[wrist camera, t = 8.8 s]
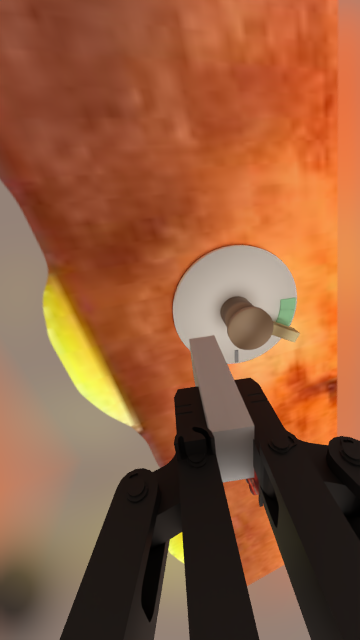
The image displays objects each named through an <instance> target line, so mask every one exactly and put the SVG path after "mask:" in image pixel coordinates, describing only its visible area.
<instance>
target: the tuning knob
mask: <svg viewBox="0 0 360 640" xmlns="http://www.w3.org/2000/svg"><path fill="white" fill-rule="evenodd" d="M220 314H221V318H222V320H223V322H224V323H225V325H226V326H227V334H228V337H229V338H230V340H231V342H232V343H233V344H234V345H235V346H236V347H238V348H240V349H243V350H253V349H257V348H259V347H261V346H262V345H264V344H265V343H266V342H267V341H268V340H269V339H270V337H271V335H274V336H277V337H280V338H283V339H286V340H289V341H292V342H295V341H296V339H297V338H298V336H299V334H300V333H299V332H297V331H296V330H295V329H294V328H292V327H289V326H286V325H283V324H280V323H277V322H274V321H273V320H272V318H271V317H270V315H269V314H268V313H267V312H265V311H264V310H263V309H261V308H259V307H254V306H253V305H252V304H251V303H250V302H249V301H248V300H247V299H246V298H244V297H240V296H235V297H232V298H229V299H228V300H227V301H225V302H224V304H223V305H222V307H221V311H220Z"/></svg>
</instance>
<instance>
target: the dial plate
mask: <svg viewBox="0 0 360 640" xmlns="http://www.w3.org/2000/svg"><path fill="white" fill-rule="evenodd" d="M235 296H240V297H244V298H246V299H247V300H248V301H249V302H250V303H251V304H252V305H253V306H254V307H259V308H261V309H263V310H264V311H265V312H267V313H268V314H269V315H270V317H271V318H272V320H273V321H274V322H277V323H280V324H283V325H286V326H290V324H291V322H292V320H293V317H294V314H295V310H296V304H297V292H296V286H295V282H294V279H293V277H292V274H291V273H290V271H289V269H288V268H287V266H286V265H285V264H284V263H283V262H282V261H281V260H280V259H279V258H278V257H276V256H275V255H273V254H272V253H270V252H268V251H266V250H263V249H261V248H257V247H253V246H249V245H230V246H225V247H221V248H218V249H215V250H213V251H211V252H209V253H207V254H205V255H204V256H202V257H201V258H199V259H198V260H197V261H195V262H194V263H193V264H192V265H191V266H190V267H189V268H188V270H187V271H186V272H185V274H184V275H183V276H182V278H181V280H180V282H179V284H178V286H177V288H176V291H175V295H174V299H173V318H174V323H175V327H176V330H177V333H178V335H179V337H180V339H181V340H182V342H183V343H184V344H185V346H186V347H187V348H188V349H189V350H190V343H189V339H192V338H199V337H205V336H212V335H214V336H215V338H216V340H217V343H218V345H219V347H220V349H221V352H222V354H223V356H224V358H225V361H226V363H227V364H233V363H240V362H245V361H248V360H251V359H253V358H256V357H258V356H260V355H262V354H263V353H265V352H267V351H268V350H269V349H271V348H272V347H273V346H274V345H275V344H277V342H278V341H279V340H280V339H281V338H280V337H277V336H274V335H271V337H270V339H269V340H268V341H267V342H266V343H265V344H264V345H262V346H261V347H259V348H257V349H253V350H243V349H240V348H238V347H236V346H235V345H234V344H233V343H232V342H231V340H230V338H229V337H228V334H227V326H226V325H225V323H224V322H223V320H222V318H221V314H220V311H221V307H222V305H223V304H224V302H225V301H227V300H228V299H229V298H232V297H235Z"/></svg>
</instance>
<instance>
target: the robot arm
mask: <svg viewBox="0 0 360 640" xmlns="http://www.w3.org/2000/svg"><path fill="white" fill-rule="evenodd" d="M189 343H190V351H191V359H192V366H193V374H194V380H195V385H196V387H191V388H184V389H178V390H177V393H176V395H175V397H174V402H175V415H176V429H177V435H176V436H175V441H174V446H175V451H176V454H175V456H174V457H173V459H172V460H171V461H170V462H169V463H168V464H167V465H165V466H163V467H162V468H160V469H158V470H156V471H154V472H151V471H150V470H147V469H144V468H142V469H135V470H133V471H131V472H129V473H128V474H127V475H126V476H125V477H123V479H122V480H121V481H120V483H119V485H118V487H117V489H116V492H115V494H114V497H113V500H112V502H111V505H110V508H109V510H108V513H107V516H106V518H105V521H104V524H103V526H102V529H101V531H100V534H99V537H98V539H97V542H96V545H95V548H94V550H93V553H92V555H91V558H90V561H89V563H88V566H87V569H86V571H85V574H84V577H83V579H82V582H81V584H80V587H79V590H78V592H77V595H76V598H75V600H74V603H73V606H72V608H71V611H70V614H69V616H68V619H67V622H66V624H65V627H64V629H63V632H62V635H61V637H60V640H154V634H155V628H156V622H157V615H158V609H159V603H160V597H161V591H162V584H163V578H164V572H165V566H166V559H167V553H168V547H169V541H170V539H171V538H173V537H174V536H176V535H178V534H179V533H181V532H182V534H183V549H184V563H185V576H186V592H187V606H188V621H189V634H190V640H259V636H258V632H257V628H256V623H255V619H254V615H253V611H252V606H251V602H250V598H249V594H248V589H247V585H246V581H245V576H244V572H243V568H242V563H241V559H240V555H239V551H238V546H237V542H236V538H235V533H234V529H233V525H232V521H231V516H230V512H229V508H228V503H227V499H226V495H225V491H224V486H223V482H228V481H234V480H241V479H247V478H253V477H254V470H255V472H256V475H257V478H258V481H259V505H260V507H261V506H263V504H264V507H265V510H266V513H267V516H268V518H269V521H270V524H271V527H272V530H273V533H274V535H275V538H276V541H277V544H278V547H279V550H280V553H281V555H282V558H283V561H284V564H285V567H286V570H287V572H288V575H289V578H290V581H291V584H292V587H293V589H294V592H295V595H296V598H297V601H298V603H299V606H300V609H301V612H302V615H303V618H304V621H305V624H306V626H307V629H308V632H309V635H310V637H311V640H360V441H358V440H356V439H353V438H350V437H343V436H340V437H335V438H333V439H332V440H331V441H329V445H321V444H313V443H308V442H303V441H301V440H299V439H297V438H296V437H295V436H294V435H293V434H291V433H290V432H288V431H286V430H285V428H284V427H283V425H282V423H281V422H280V420H279V418H278V417H277V415H276V413H275V411H274V410H273V408H272V406H271V404H270V403H269V401H268V400H267V398H266V396H265V394H264V393H263V391H262V389H261V387H260V385H259V384H258V383H257V382H255V381H254V380H253V379H251V378H245V379H239V380H234V379H233V377H232V374H231V372H230V370H229V367H228V365H227V363H226V361H225V358H224V356H223V354H222V352H221V349H220V347H219V345H218V343H217V340H216V338H215V336H214V335H212V336H205V337H199V338H192V339H189Z"/></svg>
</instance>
